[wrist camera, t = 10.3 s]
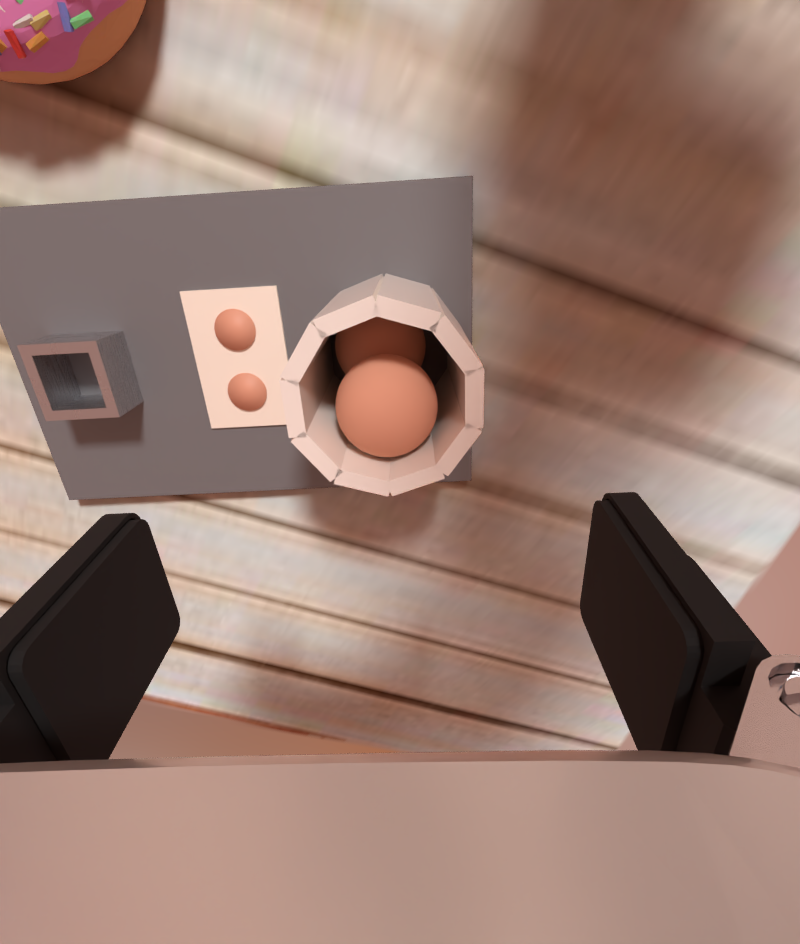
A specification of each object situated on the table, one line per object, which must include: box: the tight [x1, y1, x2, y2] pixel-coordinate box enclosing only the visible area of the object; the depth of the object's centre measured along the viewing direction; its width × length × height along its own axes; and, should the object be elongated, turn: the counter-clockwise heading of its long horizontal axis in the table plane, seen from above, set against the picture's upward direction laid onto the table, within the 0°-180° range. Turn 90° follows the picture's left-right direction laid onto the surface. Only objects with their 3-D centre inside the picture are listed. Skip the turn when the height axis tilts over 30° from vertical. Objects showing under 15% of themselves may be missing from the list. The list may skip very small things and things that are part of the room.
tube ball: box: [335, 316, 426, 374], centre depth 28 cm, size 5×5×5 cm
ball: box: [335, 354, 438, 457], centre depth 25 cm, size 5×5×5 cm
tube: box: [279, 274, 484, 497], centre depth 26 cm, size 9×9×10 cm
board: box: [0, 176, 473, 500], centre depth 31 cm, size 28×18×2 cm, turn 93°
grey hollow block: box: [17, 331, 143, 421], centre depth 30 cm, size 4×4×3 cm
